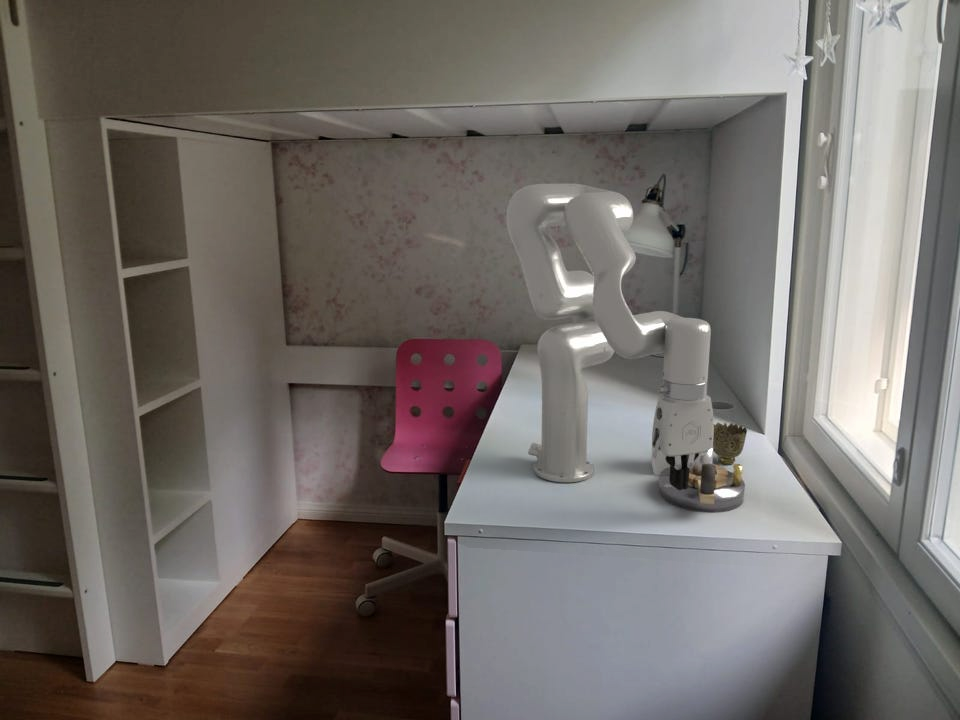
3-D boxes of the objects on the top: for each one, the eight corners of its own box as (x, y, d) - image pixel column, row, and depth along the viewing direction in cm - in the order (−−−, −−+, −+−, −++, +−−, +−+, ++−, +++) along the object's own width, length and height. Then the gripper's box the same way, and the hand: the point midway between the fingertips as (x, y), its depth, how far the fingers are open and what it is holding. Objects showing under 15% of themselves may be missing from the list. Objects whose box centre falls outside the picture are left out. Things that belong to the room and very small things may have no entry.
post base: (643, 496, 142) (645, 447, 139) (681, 471, 153) (684, 426, 151) (722, 520, 131) (726, 468, 129) (756, 492, 143) (761, 444, 140)
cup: (716, 453, 163) (718, 419, 161) (749, 461, 158) (752, 426, 156) (702, 463, 157) (705, 428, 155) (736, 471, 153) (739, 435, 151)
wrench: (675, 467, 147) (676, 436, 145) (724, 470, 145) (726, 439, 143) (680, 501, 131) (682, 467, 130) (734, 505, 130) (737, 471, 128)
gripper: (658, 399, 121) (653, 501, 125) (734, 390, 125) (726, 489, 130) (635, 387, 128) (631, 484, 132) (708, 379, 132) (701, 473, 137)
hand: (678, 486), depth 131 cm, fingers closed
